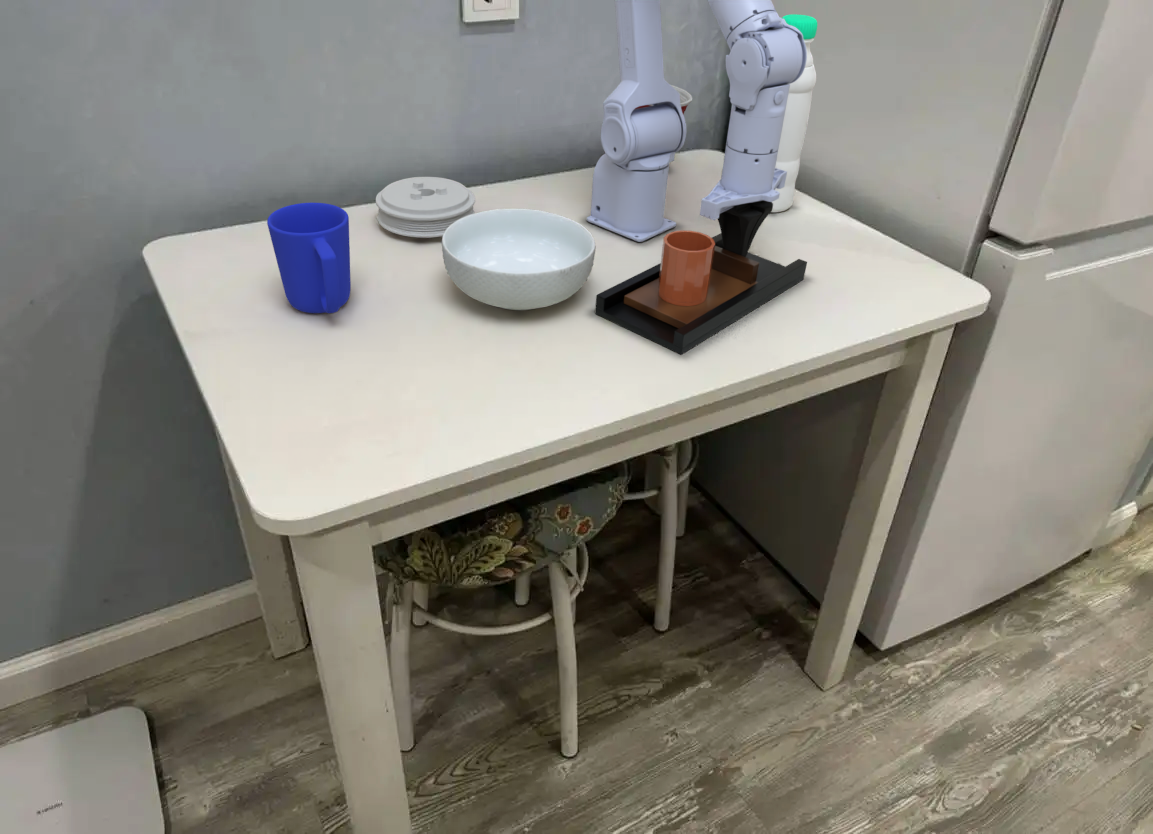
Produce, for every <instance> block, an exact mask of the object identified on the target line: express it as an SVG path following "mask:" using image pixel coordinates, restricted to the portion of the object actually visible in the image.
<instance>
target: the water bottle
mask: <svg viewBox="0 0 1153 834" xmlns="http://www.w3.org/2000/svg"><path fill="white" fill-rule="evenodd" d="M781 18H782V19H785V21H786V23H787V24H788V25H791V26H794V27H796V28H797V29H798V30H799V31H800V32H801V33H802V35H803V39H804V42H805V45H806V50H807V61H806V65H805V69H804V71H803V73H802V75H801V76H800V77H799V78H798V79H797V80H796V81H795V82H793V83H790V88H789V94H788V99H787V105H786V110H785V116H784V121H783V127H782V132H781V138H780V144H779V149H778V155H777V160H776V166H775V168H777V169H781V170H784V171H787V175H786V180H785V186H784V187H783V188H781V189H777V188H776V189H775V191H778V192H779V193H780V195H779V198H778V199H777V200H775V201H773V202H772V203H773V208H772V211H771V212H770V213H781V212H784V211H787V210H788V209H790V208H791V207H792V205H793V204H794V199H795V198H794V197H795V191H796V181H797V179H798V175H799V172H800V171H799V170H800V166H801V154H802V151H803V147H804V143H805V139H806V135H807V129H808V124H809V119H810V115H811V114H810V113H811V109H812V108H811V107H812V100H813V90H814V88H815V86H816V84H817V80H818V79H817V77H818V76H817V71H816V67H815V64H814V57H813V54H812V52H811V44H812V42H814V41H815V37H816V35H817V30H818V21H817V19H816V18H815V17H813V16H811V15H807V14H796V13H791V14H786V15H783V16H782V17H781Z"/></svg>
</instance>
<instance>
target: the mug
mask: <svg viewBox="0 0 1153 834" xmlns="http://www.w3.org/2000/svg"><path fill="white" fill-rule="evenodd" d="M349 217H350V216H349V214H348V212H347V211H346V210H345V209H343V208H341V207H340V206H337V205H335V204H331V203H326V202H325V203H324V202H302V203H301V202H300V203H295V204H289V205H286V206H282V207H280V208H279V209H276V210H274V211H273V212H272V213H270V214H269V216H268V218H267V221H266V224H267V229H268V232H269V236H270V240H271V244H272V248H273V251H274V255H275V259H276V262H277V267H278V271H279V275H280V279H281V283H282V287H283V291H284V295H285V298H286V300H287V302H288V303H289V304H290V305H291V307H292V308H294V309H296V310H298V311H299V312H302V313H306V314H324V313H325V314H334V313H337V312H338V311H339V310H340V308H341V307H343V306H344V305H345V304H346V303H347V302H348V301H349V299H350V295H351V290H352V289H351V288H352V287H351V286H352V285H351V282H352V281H351V251H350V247H351V246H350V218H349Z"/></svg>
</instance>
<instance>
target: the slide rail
mask: <svg viewBox="0 0 1153 834" xmlns="http://www.w3.org/2000/svg"><path fill="white" fill-rule="evenodd" d="M711 238H712V239H713V240H714V242H715V246H717V247H720V248H723V241H722V234H721V232H720V233H717V234H716V235H713V236H712V237H711ZM746 258H748V259H751V260H754V261H756V262H759V268H758V273H757V279H756V282H758V283H756V284H755V285H753V286H751V287H750V288H748V289H746V290H744V291H743V292H741V293H739V294H738V295H736V296H734V297H732V298H731V299H729V300H727V301H726V302H724V303H722V304H721V305H719V306H717V307H715V308H714V309H712V310H710V311H709V312H707V313H705V314H703V315H702V316H700V317H698V318H697V319H695V320H693V321H691V322H690V323H688V324H686V325H685V326H683V327H681V328H676V327H674V326H672V325H670V324H668V323H666V322H663V321H661V320H659V319H657V318H655V317H652V316H650V315H648V314H646V313H644V312H642V311H639V310H637V309H635V308H633V307H631V306H628V305H626V304H624V296H625V295H627V294H629V293H630V292H632V291H634V290H636V289H638V288H640V287H642V286H644V285H646V284H648V283H650V282H652V281H654V280H656V279H658V278H659V275H660V266H661V262H660V263H657V264H655V265H653V266H652V267H650V268H648V269H646V270H643V271H642V272H639V273H638V274H636V275H633V276H632V277H629V278H628V279H626V280H624V281H621V282H619V283H618V284H616V285H614V286H611V287H609V288H607V289H606V290H603V291H602V292H600V293H597V294H596V296H595V311H594V312H595V315H597V316H599V317H601V318H603V319H605V320H608V321H610V322H612V323H614V324H616V325H617V326H620V327H622V328H624V329H626V330H628V331H630V332H633V333H635V334H637V335H639V336H641V337H643V338H645V339H648V340H650V341H651V342H653V343H656V344H657V345H660V346H662V347H664V348H667V349H668V350H671V351H673V352H675V353H677V354H678V355H683V354H685V353H687V352H688V351H690V350H692V349H693V348H695V347H696V346H698V345H699V344H701V343H703V342H704V341H706V340H707V339H710V338H711V337H712V336H714V335H716V334H717V333H719V332H721V331H723V330H724V329H726V328H728V327H729V326H730V325H732V324H734V323H735V322H737V321H739V320H740V319H743V317H745V316H746V315H748V314H750V313H752V312H753V311H755V310H757V309H758V308H759V307H762V306H763V305H764V304H766V303H768V302H770V301H771V300H773V299H774V298H776V297H777V296H779V295H781V294H782V293H784V292H786V291H788V290H789V289H790V288H792V287H794V286H795V285H797V284H799V283H800V282H801V281H804V279H805V274H806V271H807V265H808V261H806V260H803V259H802V258H798V259H796V260H794V261H793V262H791V263H789V264H787V265H786V266H785V265H783V264H781V263H777V262H774V261H772V260H770V259H767V258H764V257H762V256H758V255H756V254H754V253H752V252H749V251H748V253H747V255H746Z"/></svg>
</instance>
